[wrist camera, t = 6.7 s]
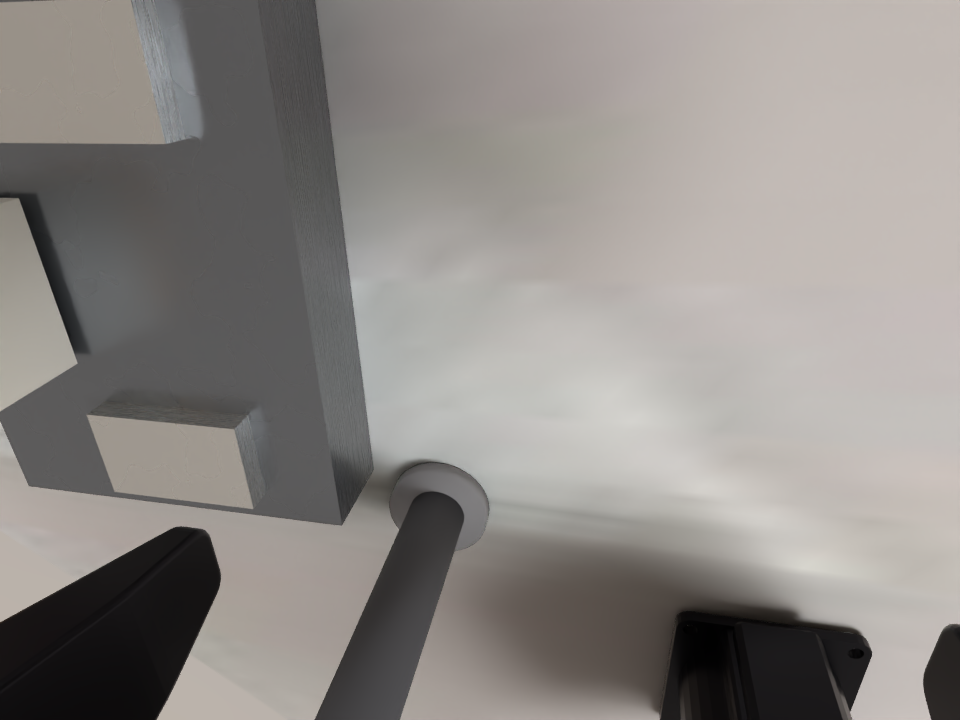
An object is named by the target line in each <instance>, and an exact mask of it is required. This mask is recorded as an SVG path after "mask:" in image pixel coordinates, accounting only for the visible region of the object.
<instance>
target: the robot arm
mask: <svg viewBox="0 0 960 720" xmlns="http://www.w3.org/2000/svg"><path fill="white" fill-rule="evenodd" d="M220 581H221V573H220V568H219V565H218V562H217V558H216V555H215V552H214V548H213V545H212V542H211V538H210V536H209V534H208V533H207V532H206V531H205V530H203V529H198V528H190V527H182V526H181V527H175V528H172V529H170V530H168V531H166V532H164V533H163V534H161V535H159V536H157V537H155V538H154V539H152V540H150V541H148V542H146V543H144V544H143V545H141V546H139V547H137V548H135V549H133V550H132V551H130V552H128V553H126V554H124V555H122V556H121V557H119V558H117V559H115V560H113V561H112V562H110V563H108V564H106V565H104V566H102V567H101V568H99V569H97V570H95V571H93V572H91V573H90V574H88V575H86V576H84V577H82V578H80V579H79V580H77V581H75V582H73V583H71V584H69V585H68V586H66V587H64V588H62V589H60V590H59V591H57V592H55V593H53V594H51V595H49V596H48V597H46V598H44V599H42V600H40V601H38V602H37V603H35V604H33V605H31V606H29V607H27V608H26V609H24V610H22V611H20V612H18V613H17V614H15V615H13V616H11V617H9V618H7V619H6V620H4V621H2V622H0V720H157V718H158V716H159V714H160V712H161V710H162V709H163V707H164V705H165V703H166V701H167V700H168V698H169V695H170V694H171V692H172V690H173V688H174V685H175V683H176V681H177V679H178V677H179V675H180V673H181V671H182V669H183V666H184V664H185V662H186V660H187V658H188V656H189V653H190V651H191V649H192V647H193V645H194V643H195V640H196V638H197V636H198V634H199V632H200V629H201V627H202V625H203V623H204V621H205V619H206V616H207V614H208V612H209V610H210V608H211V606H212V603H213V601H214V599H215V597H216V595H217V592H218V590H219V586H220ZM687 625H693V626H687ZM871 657H872V651H871V648H870V646H869V643H868V641H867V640H866V638H864V637H863V636H861V635H857V634H851V633H844V632H837V631H829V630H822V629H815V628H807V627H800V626H793V625H786V624H778V623H771V622H764V621H757V620H749V619H742V618H735V617H728V616H720V615H713V614H706V613H699V612H691V611H685V612H682V613H680V614H678V615H677V617H676V619H675V624H674V630H673V636H672V642H671V648H670V653H669V659H668V665H667V671H666V677H665V683H664V689H663V695H662V701H661V707H660V713H659V715H660V720H852V717H851V714H850V711H851V708H852V706H853V703H854V701H855V698H856V695H857V693H858V690H859V688H860V685H861V682H862V680H863V677H864V675H865V672H866V670H867V667H868V664H869V662H870V659H871ZM923 686H924V693H925V698H926V701H927V705H928V709H929V713H930V716H931V720H960V624H950V625H948V626H946V627H945V628H944V629H943V631H942V632H941V634H940V637H939V639H938V641H937V644H936V646H935V648H934V650H933V653H932V655H931V657H930V660H929V662H928V664H927V667H926V669H925V672H924V678H923Z"/></svg>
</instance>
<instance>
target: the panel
mask: <svg viewBox="0 0 960 720" xmlns="http://www.w3.org/2000/svg"><path fill="white" fill-rule="evenodd" d="M0 198H19V200H20V203H21V206H22V209H23V211H24V214H25V217H26V220H27V223H28V225H29V228H30V231H31V234H32V237H33V240H34V242H35V245H36V248H37V251H38V254H39V256H40V259H41V262H42V265H43V268H44V270H45V273H46V276H47V279H48V282H49V284H50V287H51V290H52V293H53V296H54V298H55V301H56V304H57V307H58V310H59V312H60V315H61V318H62V321H63V324H64V326H65V329H66V332H67V335H68V338H69V340H70V343H71V346H72V349H73V352H74V354H75V357H76V360H77V363H78V364H76V365H74V366H73V367H71V368H70V369H68V370H66V371H65V372H63V373H62V374H60V375H58V376H57V377H55V378H53V379H52V380H50V381H49V382H47V383H45V384H44V385H42V386H41V387H39V388H37V389H36V390H34V391H32V392H31V393H29V394H28V395H26V396H24V397H23V398H21V399H19V400H18V401H16V402H15V403H13V404H11V405H10V406H8V407H7V408H5V409H3V410H2V411H0V421H1V424H2V426H3V428H4V430H5V433H6V435H7V437H8V440H9V442H10V444H11V446H12V449H13V451H14V453H15V455H16V458H17V460H18V462H19V464H20V467H21V469H22V471H23V474H24V476H25V478H26V480H27V483H28V485H29V486H32V487H40V488H48V489H56V490H64V491H72V492H80V493H88V494H96V495H104V496H111V497H119V498H127V499H135V500H143V501H151V502H159V503H167V504H175V505H183V506H191V507H199V508H207V509H214V510H222V511H230V512H238V513H246V514H254V515H262V516H270V517H278V518H286V519H294V520H302V521H310V522H318V523H325V524H333V525H341V526H342V525H343V523H344V521H345V519H346V517H347V516H348V514H349V512H350V510H351V509H352V507H353V505H354V503H355V502H356V500H357V498H358V496H359V494H360V493H361V491H362V489H363V487H364V486H365V484H366V482H367V480H368V478H369V477H370V475H371V473H372V471H373V462H372V454H371V446H370V438H369V430H368V422H367V414H366V406H365V398H364V390H363V382H362V374H361V366H360V358H359V350H358V342H357V334H356V326H355V318H354V310H353V302H352V294H351V286H350V278H349V270H348V262H347V254H346V246H345V238H344V230H343V222H342V214H341V206H340V198H339V190H338V182H337V174H336V166H335V158H334V150H333V142H332V134H331V126H330V118H329V110H328V102H327V94H326V86H325V78H324V70H323V62H322V54H321V46H320V38H319V30H318V22H317V14H316V6H315V0H0Z"/></svg>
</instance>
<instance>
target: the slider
mask: <svg viewBox="0 0 960 720" xmlns="http://www.w3.org/2000/svg"><path fill="white" fill-rule="evenodd" d="M76 364H78V363H77V360H76V357H75V354H74V352H73V349H72V346H71V343H70V340H69V338H68V335H67V332H66V329H65V326H64V324H63V321H62V318H61V315H60V312H59V310H58V307H57V304H56V301H55V298H54V296H53V293H52V290H51V287H50V284H49V282H48V279H47V276H46V273H45V270H44V268H43V265H42V262H41V259H40V256H39V254H38V251H37V248H36V245H35V242H34V240H33V237H32V234H31V231H30V228H29V225H28V223H27V220H26V217H25V214H24V211H23V209H22V206H21V203H20V200H19V198H0V411H2V410H3V409H5V408H7V407H8V406H10V405H11V404H13V403H15V402H16V401H18V400H19V399H21V398H23V397H24V396H26V395H28V394H29V393H31V392H32V391H34V390H36V389H37V388H39V387H41V386H42V385H44V384H45V383H47V382H49V381H50V380H52V379H53V378H55V377H57V376H58V375H60V374H62V373H63V372H65V371H66V370H68V369H70V368H71V367H73V366H74V365H76Z"/></svg>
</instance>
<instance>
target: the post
mask: <svg viewBox="0 0 960 720" xmlns="http://www.w3.org/2000/svg"><path fill="white" fill-rule="evenodd" d="M389 508H390V513H391V516H392V519H393V521H394V523H395V524H396V526H397V527H398V528H399V532H398V534H397V537H396V539H395V541H394V543H393V546H392V548H391V550H390V552H389V555H388V557H387V559H386V561H385V564H384V566H383V568H382V570H381V572H380V575H379V577H378V579H377V581H376V584H375V586H374V588H373V590H372V593H371V595H370V597H369V599H368V602H367V604H366V606H365V608H364V611H363V613H362V615H361V617H360V620H359V622H358V624H357V626H356V629H355V631H354V633H353V635H352V637H351V640H350V642H349V644H348V646H347V649H346V651H345V653H344V655H343V658H342V660H341V662H340V664H339V667H338V669H337V671H336V673H335V676H334V678H333V680H332V682H331V685H330V687H329V689H328V691H327V694H326V696H325V698H324V700H323V703H322V705H321V707H320V709H319V711H318V714H317V716H316V718H315V720H400V717H401V714H402V711H403V708H404V705H405V702H406V699H407V696H408V693H409V689H410V686H411V683H412V680H413V677H414V674H415V671H416V668H417V665H418V662H419V659H420V655H421V652H422V649H423V646H424V643H425V640H426V637H427V634H428V631H429V628H430V625H431V622H432V618H433V615H434V612H435V609H436V606H437V603H438V600H439V597H440V594H441V591H442V588H443V584H444V581H445V578H446V575H447V572H448V569H449V566H450V563H451V560H452V557H453V554H454V551H458V550H462V549H465V548H468V547H470V546H471V545H473V544H474V543H476V542H477V541H478V540H479V539H480V537H481V536H482V534H483V532H484V530H485V527H486V523H487V520H488V516H489V502H488V498H487V496H486V493H485V492H484V490H483V488H482V487H481V486H480V484H479V483H478V482H477V481H476V480H475V479H474V478H473V477H471V476H470V475H469V474H467V473H466V472H464V471H462V470H460V469H458V468H456V467H453V466H450V465H447V464H442V463H424V464H419V465H416V466H414V467H412V468H410V469H408V470H407V471H405V472H404V473H403V474H402V475H401V477H400V478H399V479H398V481H397V483H396V485H395V487H394V489H393V491H392V493H391V496H390V501H389Z"/></svg>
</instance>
